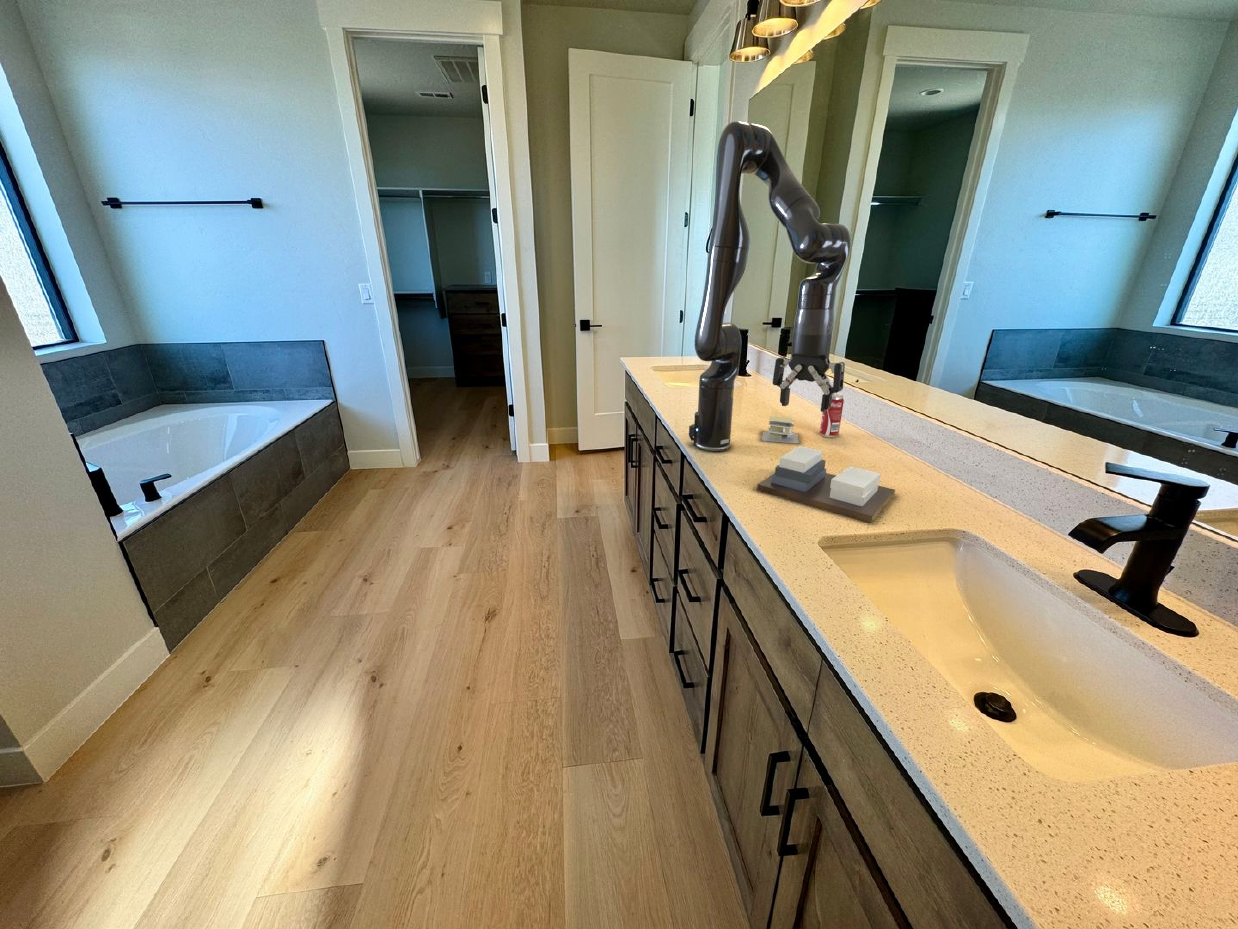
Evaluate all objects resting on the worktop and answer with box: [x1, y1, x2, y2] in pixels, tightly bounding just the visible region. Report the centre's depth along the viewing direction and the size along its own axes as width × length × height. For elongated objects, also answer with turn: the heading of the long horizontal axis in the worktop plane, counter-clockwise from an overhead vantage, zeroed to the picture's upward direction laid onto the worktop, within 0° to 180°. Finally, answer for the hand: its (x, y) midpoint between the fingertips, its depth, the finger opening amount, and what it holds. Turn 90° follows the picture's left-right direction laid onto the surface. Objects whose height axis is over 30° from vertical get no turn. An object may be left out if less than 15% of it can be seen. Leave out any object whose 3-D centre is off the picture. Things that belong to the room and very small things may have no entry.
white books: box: [830, 466, 882, 506], centre depth 103 cm, size 7×10×4 cm
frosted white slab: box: [778, 445, 824, 473], centre depth 109 cm, size 6×10×2 cm, turn 138°
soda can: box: [819, 393, 845, 439], centre depth 143 cm, size 5×5×12 cm
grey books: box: [771, 459, 827, 492], centre depth 110 cm, size 8×11×4 cm
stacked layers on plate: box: [761, 416, 800, 444], centre depth 142 cm, size 10×9×6 cm
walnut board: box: [756, 472, 896, 524], centre depth 108 cm, size 24×16×2 cm, turn 48°
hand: (803, 408), depth 106 cm, fingers open, 8 cm apart
